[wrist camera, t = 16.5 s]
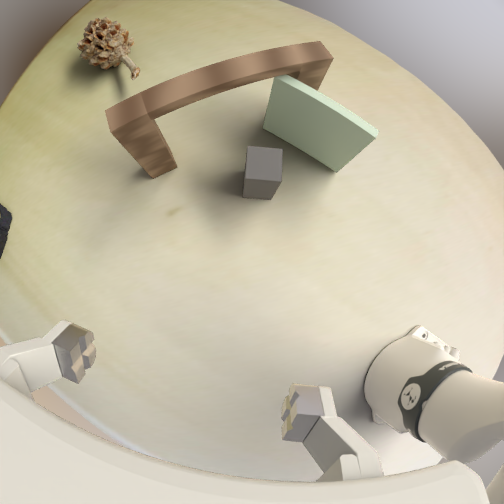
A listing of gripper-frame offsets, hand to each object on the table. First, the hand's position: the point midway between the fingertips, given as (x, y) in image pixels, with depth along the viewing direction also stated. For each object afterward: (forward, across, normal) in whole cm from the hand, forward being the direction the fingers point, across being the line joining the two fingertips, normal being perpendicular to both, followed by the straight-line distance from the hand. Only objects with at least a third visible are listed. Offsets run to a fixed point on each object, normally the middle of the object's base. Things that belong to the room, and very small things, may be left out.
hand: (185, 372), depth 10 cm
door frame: (+34, +6, -10) cm, 36 cm away
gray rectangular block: (+32, -1, -4) cm, 33 cm away
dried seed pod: (+39, +30, -23) cm, 54 cm away
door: (+35, -6, -12) cm, 38 cm away
